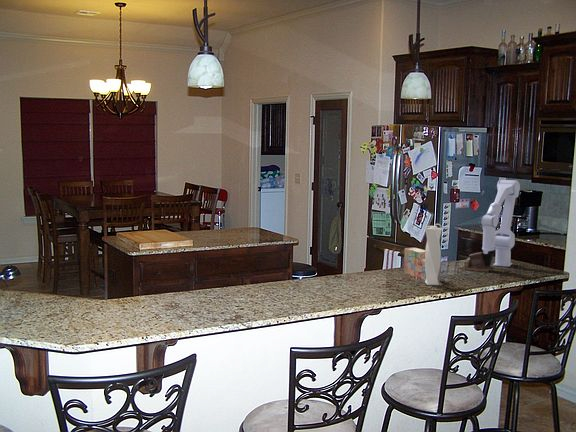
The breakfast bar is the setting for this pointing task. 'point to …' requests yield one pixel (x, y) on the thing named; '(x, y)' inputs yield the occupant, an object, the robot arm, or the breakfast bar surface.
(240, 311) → the breakfast bar surface
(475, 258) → the box
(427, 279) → the skyscraper
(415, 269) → the stack of blocks
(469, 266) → the cradle
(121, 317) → the breakfast bar surface
